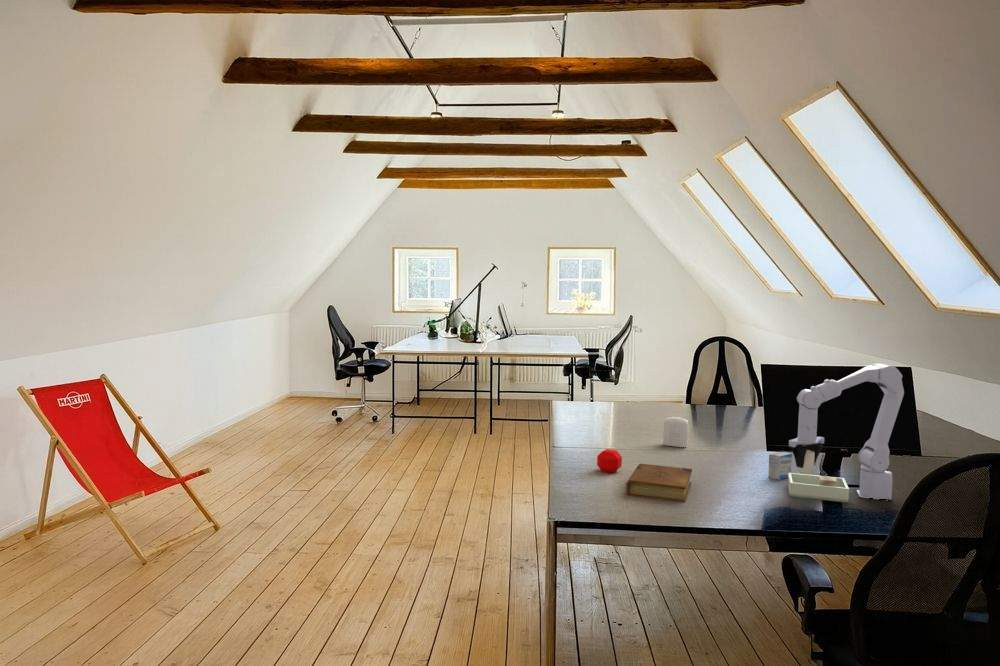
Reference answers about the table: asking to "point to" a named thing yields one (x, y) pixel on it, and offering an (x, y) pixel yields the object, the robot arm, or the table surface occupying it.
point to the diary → (659, 482)
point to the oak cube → (827, 481)
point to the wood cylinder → (808, 463)
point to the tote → (816, 488)
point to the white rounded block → (676, 432)
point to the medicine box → (780, 465)
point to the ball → (609, 460)
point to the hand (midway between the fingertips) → (805, 466)
